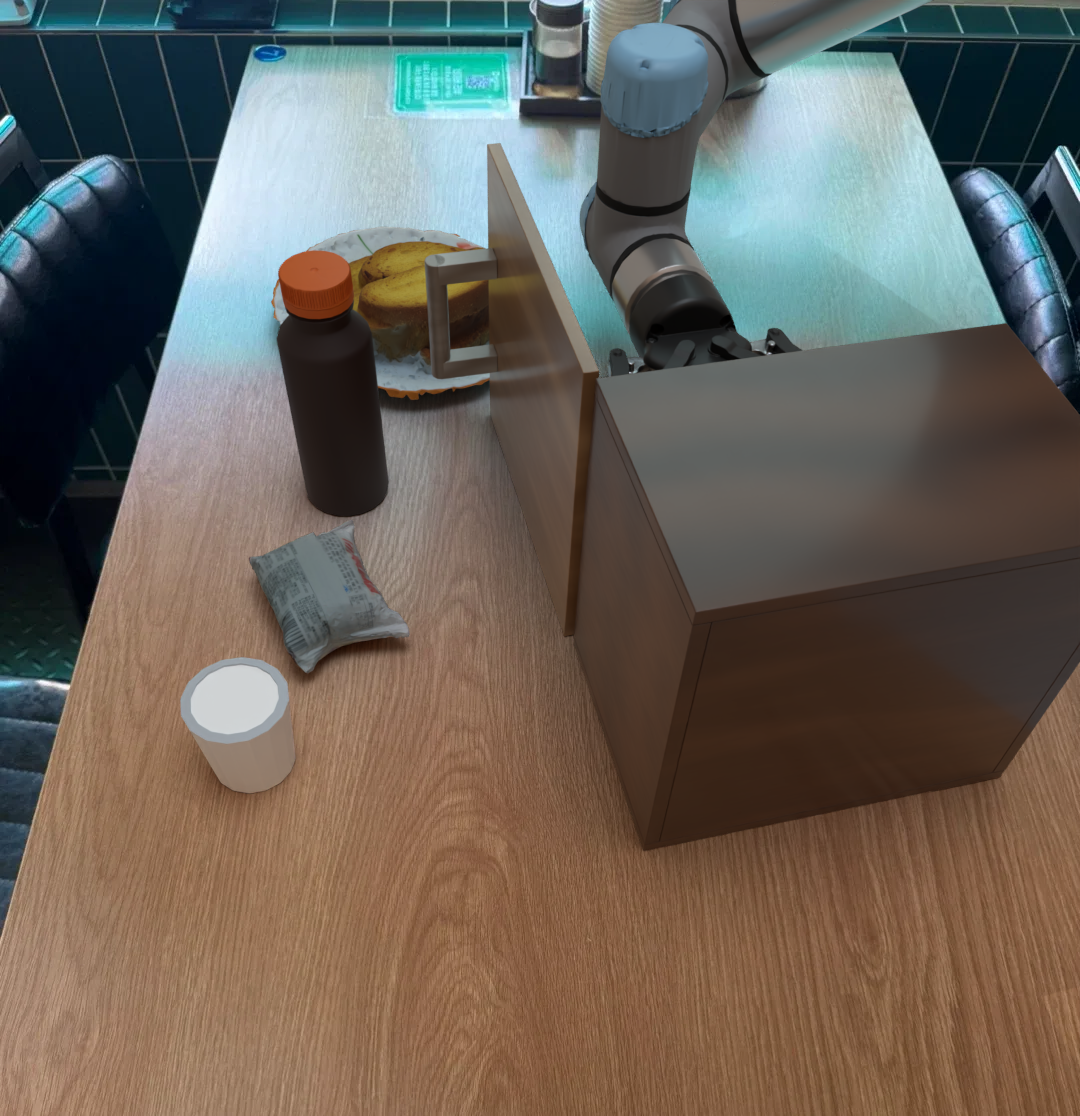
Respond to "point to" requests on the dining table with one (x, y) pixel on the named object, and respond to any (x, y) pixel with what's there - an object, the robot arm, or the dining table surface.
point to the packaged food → (324, 595)
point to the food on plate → (406, 304)
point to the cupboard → (826, 576)
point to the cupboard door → (526, 375)
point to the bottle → (331, 385)
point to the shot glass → (241, 722)
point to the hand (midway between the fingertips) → (770, 500)
